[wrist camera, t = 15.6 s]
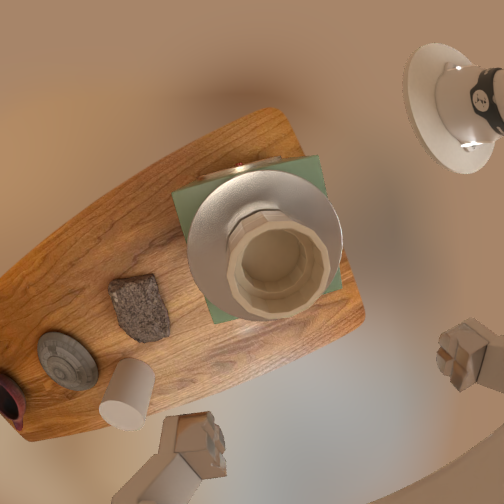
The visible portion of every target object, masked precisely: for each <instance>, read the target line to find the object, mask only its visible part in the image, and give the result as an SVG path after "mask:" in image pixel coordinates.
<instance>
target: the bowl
mask: <svg viewBox="0 0 504 504" xmlns="http://www.w3.org/2000/svg"><path fill="white" fill-rule="evenodd" d="M25 410H26V399H25V396H24V393H23V392H22V390H21V388H20V387H19V386H18V385H17V384H16V382H14V381H13V380H12V379H11V378H9V377H8V376H6V375H4V374H0V412H1V413H2V414H3V415H4V416H5V417H7V418H8V419H10V420H12V421H13V423H14V425H15V428H16V429H17V430H19V431H21V430H22V428H23V415H24V413H25Z"/></svg>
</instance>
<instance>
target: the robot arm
mask: <svg viewBox="0 0 504 504" xmlns="http://www.w3.org/2000/svg"><path fill="white" fill-rule="evenodd" d="M435 99H436V105H437V109H438V112H439V115H440V118H441V120H442V122H443V124H444V125H445V127H446V128H447V130H448V131H449V132H450V133H451V134H452V135H453V136H454V137H455V138H456V139H457V140H458V141H459V142H460V143H461V147H463V148H464V150H465V151H466V152H472V151H474V150H476V149H478V148H480V147H482V146H484V145H486V144H488V143H494V141H495V140H498V139H499V138H501V137H502V136H504V69H502V68H489V69H482V68H481V67H480V66H477V65H467V66H462V67H461V66H459V65H456V64H454V63H452V62H446V63H445V65H444V70H443V73H442V75H441V76H440V77H439V79H438V81H437V83H436V88H435ZM438 343H439V344H440V346H441V347H440V348H439V350H438V352H437V357H436V361H437V365H438V367H439V369H440V371H441V372H442V373H443V374H444V375H446V376H450V382H451V383H452V384H453V385H454V387H456V389H457V390H458V391H459V392H461V391H463V390H465V389H466V388H468V387H470V386H471V385H473V384H474V383H476V382H477V384H480V385H483V386H485V387H488V388H491V389H493V390H496V391H499V392H501V393H504V335H500V336H497V335H496V334H495V333H493V332H492V331H491V330H489V329H488V328H487V327H485V326H484V325H483V324H481V323H480V322H479V321H477V320H476V319H475V318H469V319H467V320H465V321H464V322H462V323H461V324H458V325H456V326H455V327H453V328H451V329H449V330H447V331H446V332H444V333H442V334H441V335H440V337H439V342H438ZM224 451H225V441H224V436H223V434H222V431H221V429H220V427H219V426H218V425H216V424H214V416H213V415H212V413H211V412H210V411H207V412H200V413H191V414H183V415H176V416H167V417H166V418H165V419H164V422H163V427H162V433H161V439H160V445H159V451H158V454H154V455H153V456H152V457H151V458H150V459H149V460H148V461H147V462H146V463H145V464H144V465H143V466H142V468H141V469H140V470H139V471H138V472H137V473H136V474H135V475H134V476H133V477H132V478H131V479H130V480H129V481H128V482H127V483H126V484H125V485H124V486H123V487H122V488H121V489H120V490H119V491H118V492H117V493H116V494H115V495H114V496H113V497H112V501H111V504H188V502H189V501H190V499H191V498H192V496H193V495H194V493H195V491H196V490H197V488H198V487H199V485H200V483H201V482H202V480H203V479H211V478H218V477H225V476H227V475H226V460H225V459H224V457H223V456H222V454H223V453H224ZM368 504H504V424H503V425H502V426H500V427H499V428H498V429H497V430H495V431H494V432H493V433H492V434H490V435H489V436H488V437H486V438H485V439H484V440H483V441H481V442H480V443H478V444H477V445H476V446H474V447H473V448H471V449H470V450H468V451H467V452H466V453H464V454H463V455H461V456H460V457H458V458H457V459H455V460H454V461H452V462H450V463H449V464H447V465H446V466H444V467H442V468H440V469H439V470H437V471H435V472H433V473H432V474H430V475H428V476H426V477H424V478H423V479H421V480H419V481H417V482H415V483H413V484H411V485H409V486H407V487H405V488H403V489H401V490H399V491H396V492H394V493H392V494H390V495H387V496H385V497H383V498H381V499H378V500H376V501H373V502H371V503H368Z"/></svg>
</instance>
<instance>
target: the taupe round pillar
mask: <svg viewBox="0 0 504 504" xmlns="http://www.w3.org/2000/svg"><path fill="white" fill-rule="evenodd" d="M154 381H155V374H154V372H153V370H152V369H151V367H150V366H149V365H147V364H146V363H145V362H143V361H141V360H138V359H134V358H126V359H123V360H121V361H120V362H119V363H118V364H117V366H116V369H115V371H114V373H113V375H112V378H111V380H110V382H109V385H108V387H107V389H106V392H105V394H104V397H103V399H102V401H101V404H100V406H99V412H100V414H101V416H102V417H103V419H104V420H105V421H106V422H108V423H109V424H110V425H112V426H114V427H116V428H118V429H121V430H125V431H137V430H140V429H141V428H142V427H143V426H144V423H145V418H146V414H147V410H148V406H149V402H150V397H151V393H152V389H153V385H154Z"/></svg>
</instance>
